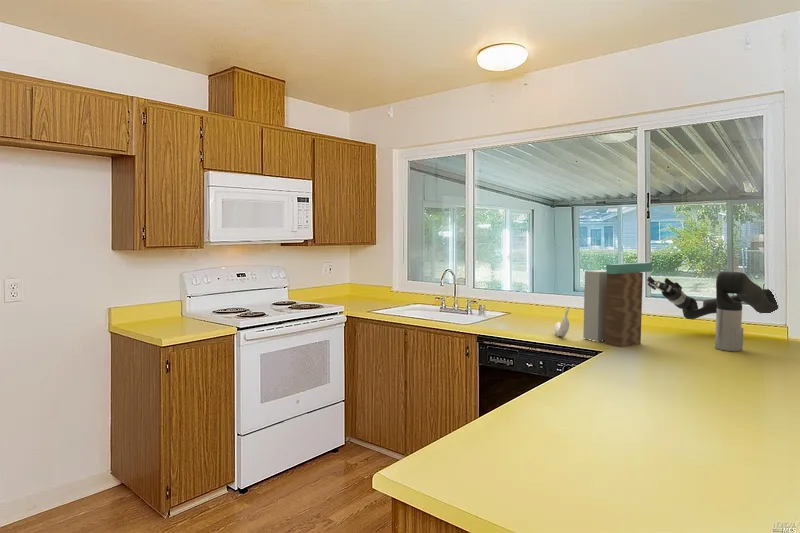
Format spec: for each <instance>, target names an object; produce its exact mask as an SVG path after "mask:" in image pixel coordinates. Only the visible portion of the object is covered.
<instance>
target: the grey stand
mask: <svg viewBox="0 0 800 533" xmlns="http://www.w3.org/2000/svg"><path fill="white" fill-rule="evenodd" d="M606 289H607V273H606V269H597V270H596V269H595V270H584V290H583V291H584V295H583V296H584V297H583V300H584V301H583V334H582V335H583V337H582V338H585V339H591V340H595V341H602V340H605V327H606ZM585 339H584V340H585ZM602 342H603V341H602Z"/></svg>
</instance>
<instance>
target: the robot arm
mask: <svg viewBox="0 0 800 533" xmlns="http://www.w3.org/2000/svg"><path fill="white" fill-rule="evenodd" d="M715 280H716V281H715V290H716V291H715V292H716V293H715V294H716V297H715V298H710V299H705V300H703V302H702V307H701V308H699V306H698V302H697V300H696V299H695V298H694V297H691V296H689V295H687V294H686V293H685V292H684V291H683V290H682V289H683V287H682V286H681V285H680V284H679V283H678V282H676V281H675V282H674V281H671V280H670V279H669V278H668V277H665V279H664V281H663V282H661V281H659V280H656V279H654V278H652V277H651V276H648V277H647V280H646V281H647V286H648V287H650V288H651V290H654V291H656V290H659V291H660V292H661V294H662V297H664V298H665V299H667V300H668V302H670V303H671V304H673V305H674V306H675V307H677V308H678V309H682V314H683V317H684V318H686V319H688V320H697V319H699V318H701V317H704V316H706V315H711V314H712V315H713V314H716V315H715V316H716V318H715V335H714V336H715V339H714V342H715V343H714V347H715V349H716V350H721V351H727V352H740V351H743V350H744V348H743V346H744V344H743V343H744V327H742V318H743V317H742V316H743V303H742V302H744V303H745V304H747V305H749V306H750V307H752V308H753V309H754V310H755V312H756V313H758V312H759V313H758V314H762V313H771V312H773V311H775V310H777V309H778V310H779V304H778V305H777V302H778V301H777V302H776V300H775V298H774V295H773V294H772V292H771V291H770V290H769V288H764V289H763V288H762V287H761V286H760V285H758V284H757V283H755V282H754V281H752V280H751V279H750V278H749V277H748V275H746V274H745V273H744V272H740V271H726V270H725V271H724V270H723V271H720V272H718V274H717V275H716V279H715ZM729 294H734V295H731V296H730V295H729ZM778 310H777V311H778ZM771 314H772V313H771Z"/></svg>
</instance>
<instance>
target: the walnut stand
mask: <svg viewBox="0 0 800 533" xmlns="http://www.w3.org/2000/svg"><path fill="white" fill-rule="evenodd" d="M643 273H644V272H637V273H622V274H607V289H606V327H605V341H604V342H605V343H606V344H605V343H604V344H605V345H608V344H609V346H613V347H618V348H624V347H630V346H634V345H635V346H636V345H641V341H642V312H643V310H642V309H643V307H642V306H643V284H644V282H643V277H644V276H643Z"/></svg>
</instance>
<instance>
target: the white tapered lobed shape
mask: <svg viewBox="0 0 800 533" xmlns="http://www.w3.org/2000/svg"><path fill="white" fill-rule="evenodd" d="M569 310H570V308H567V309H565V311H564V316H563V318H562V319H561V322H560V321H558V322H557V321H556V322H555V324H554V329H553V330H554V333H555V335H556V336H557V337H559V336H561V337H560V338H563V337H565V336H566V335H567V334H568V332H569V329H570V321H569V319H568V315H569Z"/></svg>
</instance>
